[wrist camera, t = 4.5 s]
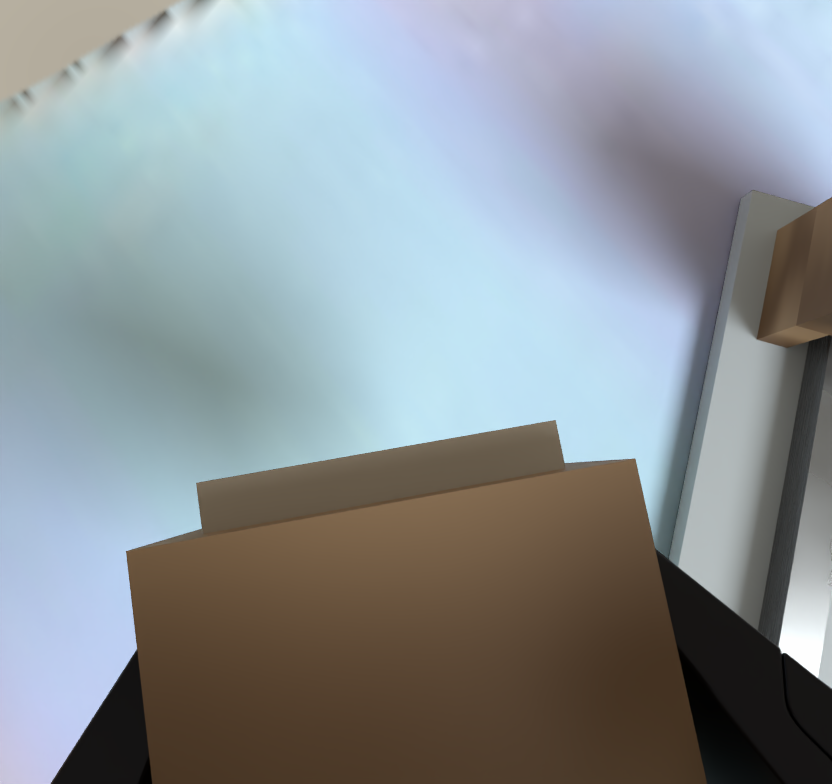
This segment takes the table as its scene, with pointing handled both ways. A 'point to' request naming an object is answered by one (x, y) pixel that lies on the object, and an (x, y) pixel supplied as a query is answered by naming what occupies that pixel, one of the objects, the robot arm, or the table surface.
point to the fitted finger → (800, 281)
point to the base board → (743, 430)
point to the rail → (804, 523)
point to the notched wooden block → (415, 624)
